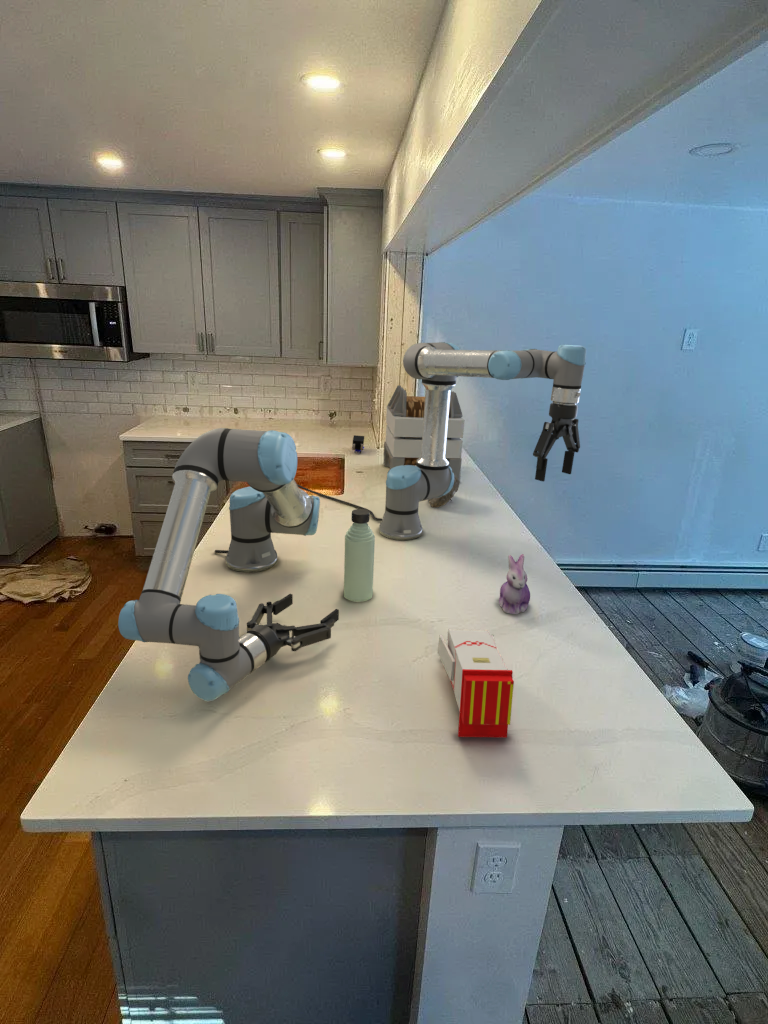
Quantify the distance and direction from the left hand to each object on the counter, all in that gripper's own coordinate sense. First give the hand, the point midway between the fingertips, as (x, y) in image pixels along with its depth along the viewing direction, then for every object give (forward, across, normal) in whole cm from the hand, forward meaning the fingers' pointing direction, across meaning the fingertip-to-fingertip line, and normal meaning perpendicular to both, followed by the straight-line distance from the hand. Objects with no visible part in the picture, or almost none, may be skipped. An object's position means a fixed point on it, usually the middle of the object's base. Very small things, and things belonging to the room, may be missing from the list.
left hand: (314, 606), depth 137 cm
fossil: (+110, -14, -6) cm, 111 cm away
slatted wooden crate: (+143, -40, -6) cm, 148 cm away
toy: (-2, +42, -6) cm, 42 cm away
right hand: (+64, +39, +24) cm, 79 cm away
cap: (+21, 0, +18) cm, 27 cm away
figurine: (+38, +39, -6) cm, 55 cm away
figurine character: (+162, -86, -6) cm, 183 cm away
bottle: (+21, 0, -6) cm, 22 cm away
